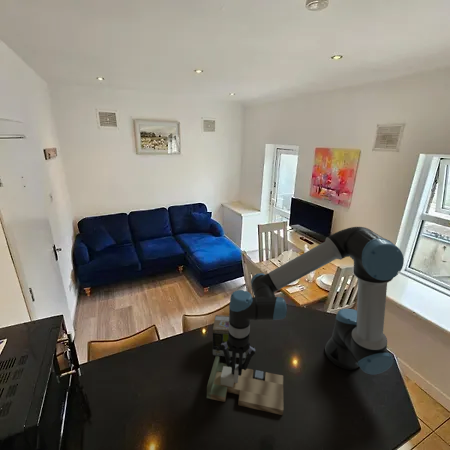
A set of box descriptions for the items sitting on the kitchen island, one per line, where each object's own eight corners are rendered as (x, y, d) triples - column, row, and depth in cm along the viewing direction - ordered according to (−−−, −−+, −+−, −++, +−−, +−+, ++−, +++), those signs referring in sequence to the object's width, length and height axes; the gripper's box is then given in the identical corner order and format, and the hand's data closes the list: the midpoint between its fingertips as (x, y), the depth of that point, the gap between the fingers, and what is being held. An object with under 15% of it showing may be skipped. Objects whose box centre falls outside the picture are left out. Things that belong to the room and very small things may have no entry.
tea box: (246, 341, 122) (247, 316, 117) (245, 359, 113) (247, 332, 108) (215, 338, 123) (215, 313, 118) (212, 355, 114) (212, 329, 109)
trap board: (282, 380, 103) (284, 369, 101) (282, 415, 90) (284, 403, 88) (215, 366, 108) (215, 355, 106) (206, 397, 95) (206, 386, 93)
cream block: (235, 375, 102) (235, 368, 100) (233, 387, 97) (233, 379, 96) (223, 373, 103) (223, 366, 101) (220, 384, 98) (220, 377, 97)
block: (262, 377, 104) (263, 371, 103) (262, 384, 101) (262, 378, 100) (255, 375, 105) (255, 369, 104) (254, 382, 102) (254, 376, 101)
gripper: (258, 327, 93) (253, 374, 101) (223, 321, 96) (222, 368, 104) (256, 342, 86) (251, 392, 94) (219, 335, 89) (217, 385, 97)
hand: (236, 379), depth 99 cm, fingers closed
